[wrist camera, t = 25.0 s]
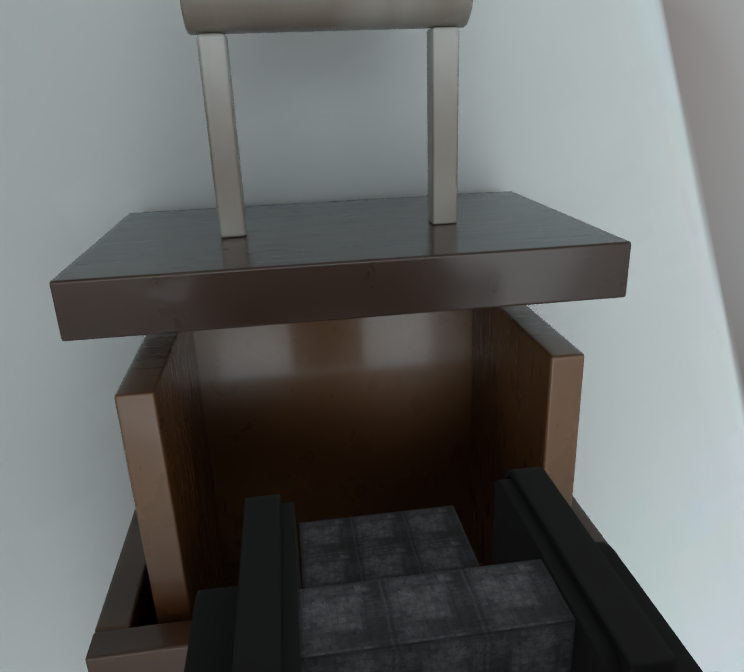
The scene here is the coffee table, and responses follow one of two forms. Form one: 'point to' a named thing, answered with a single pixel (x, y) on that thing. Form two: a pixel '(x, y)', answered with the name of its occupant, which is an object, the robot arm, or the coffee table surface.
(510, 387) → the drawer
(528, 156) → the coffee table surface
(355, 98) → the coffee table surface
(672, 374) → the coffee table surface
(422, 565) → the building blocks
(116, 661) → the cabinet
